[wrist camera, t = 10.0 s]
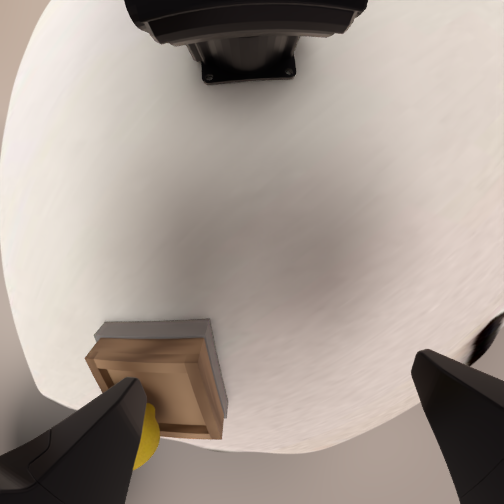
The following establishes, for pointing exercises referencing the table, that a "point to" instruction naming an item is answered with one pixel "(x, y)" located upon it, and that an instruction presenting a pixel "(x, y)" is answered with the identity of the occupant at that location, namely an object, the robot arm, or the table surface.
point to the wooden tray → (165, 381)
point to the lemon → (148, 437)
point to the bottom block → (170, 331)
